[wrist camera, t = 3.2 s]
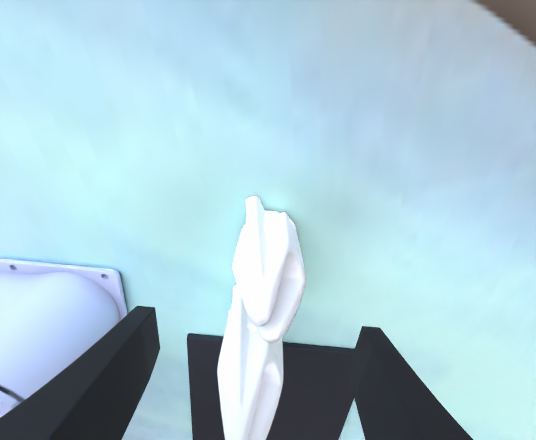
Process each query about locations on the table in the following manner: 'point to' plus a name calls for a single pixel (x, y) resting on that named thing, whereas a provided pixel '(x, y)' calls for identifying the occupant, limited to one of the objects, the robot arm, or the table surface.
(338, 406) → the placemat
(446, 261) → the table surface
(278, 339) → the shaker set
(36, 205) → the table surface
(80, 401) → the robot arm
